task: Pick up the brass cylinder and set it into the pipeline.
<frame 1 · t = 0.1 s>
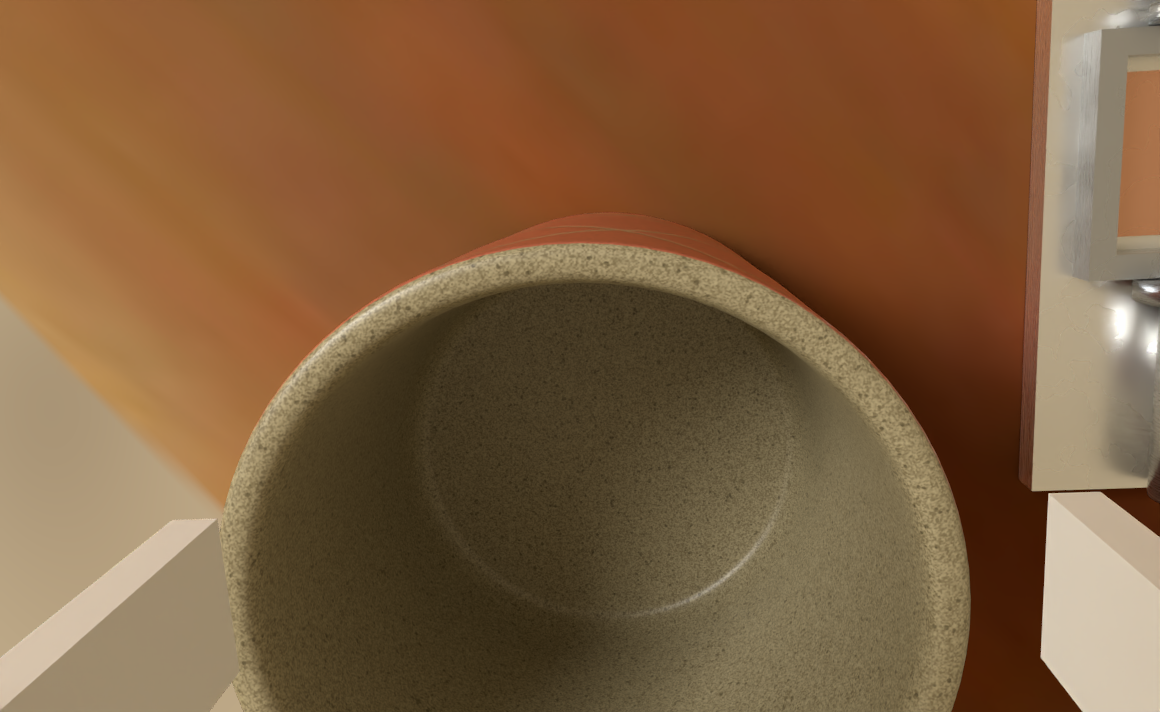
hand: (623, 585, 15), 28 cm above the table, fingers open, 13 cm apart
planter: (610, 407, 44), on the table
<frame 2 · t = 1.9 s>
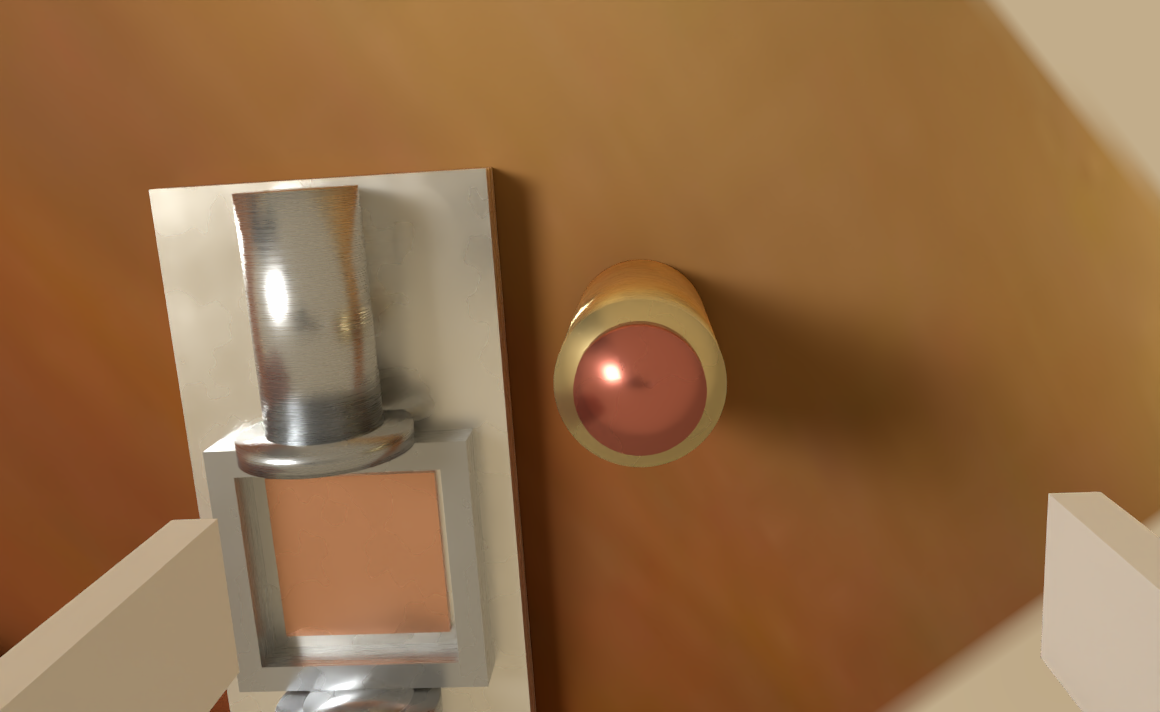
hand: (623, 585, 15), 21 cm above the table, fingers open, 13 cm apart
brass cylinder: (640, 324, 36), on the table
pipeline: (370, 538, 38), on the table
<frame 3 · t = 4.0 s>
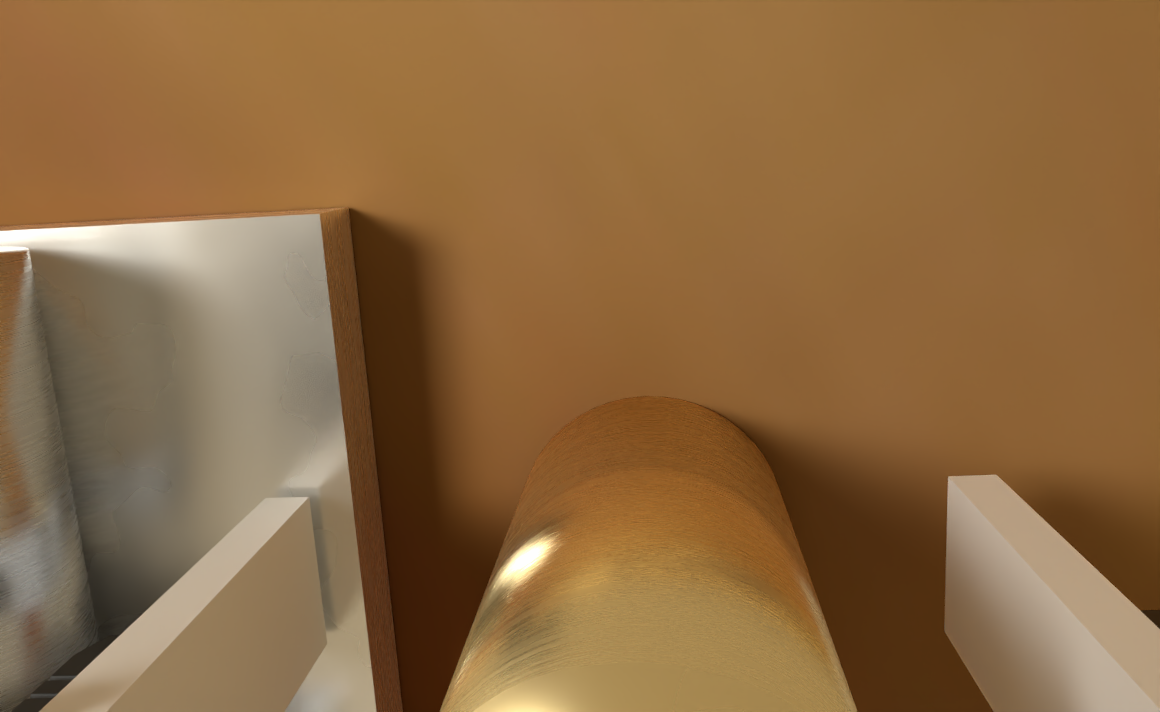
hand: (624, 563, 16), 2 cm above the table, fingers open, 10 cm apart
brass cylinder: (650, 522, 18), on the table
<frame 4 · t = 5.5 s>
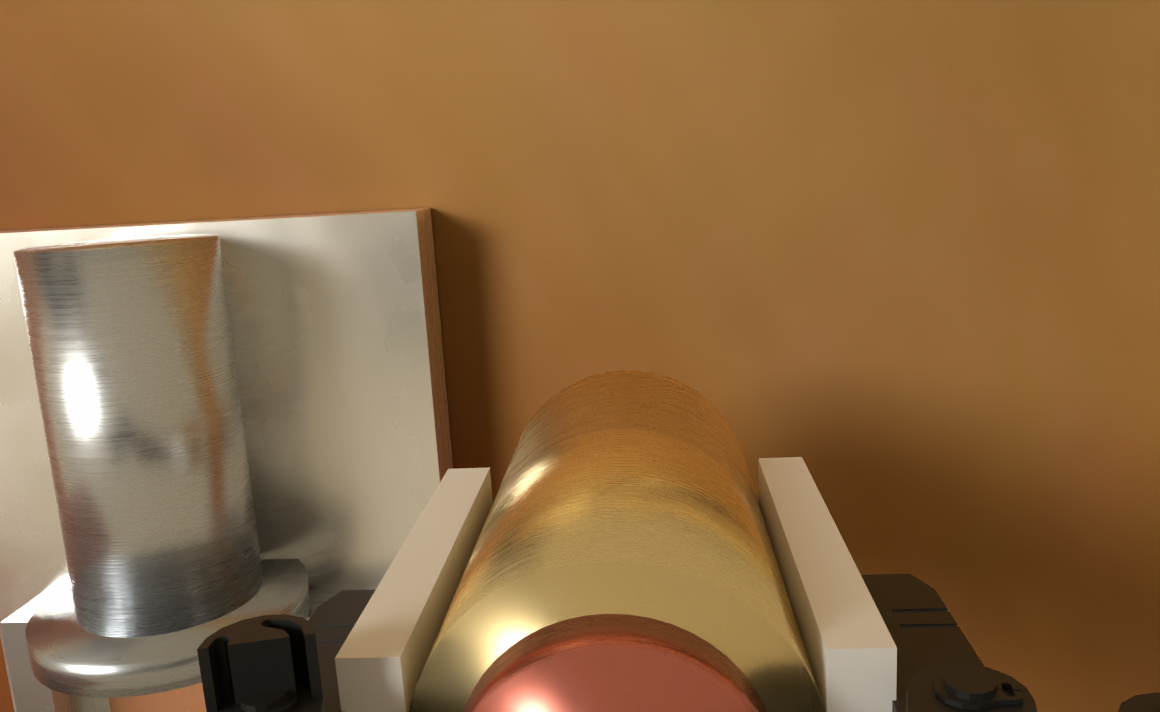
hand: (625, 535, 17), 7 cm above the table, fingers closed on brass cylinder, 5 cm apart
brass cylinder: (628, 485, 20), point 5 cm above the table, touching gripper
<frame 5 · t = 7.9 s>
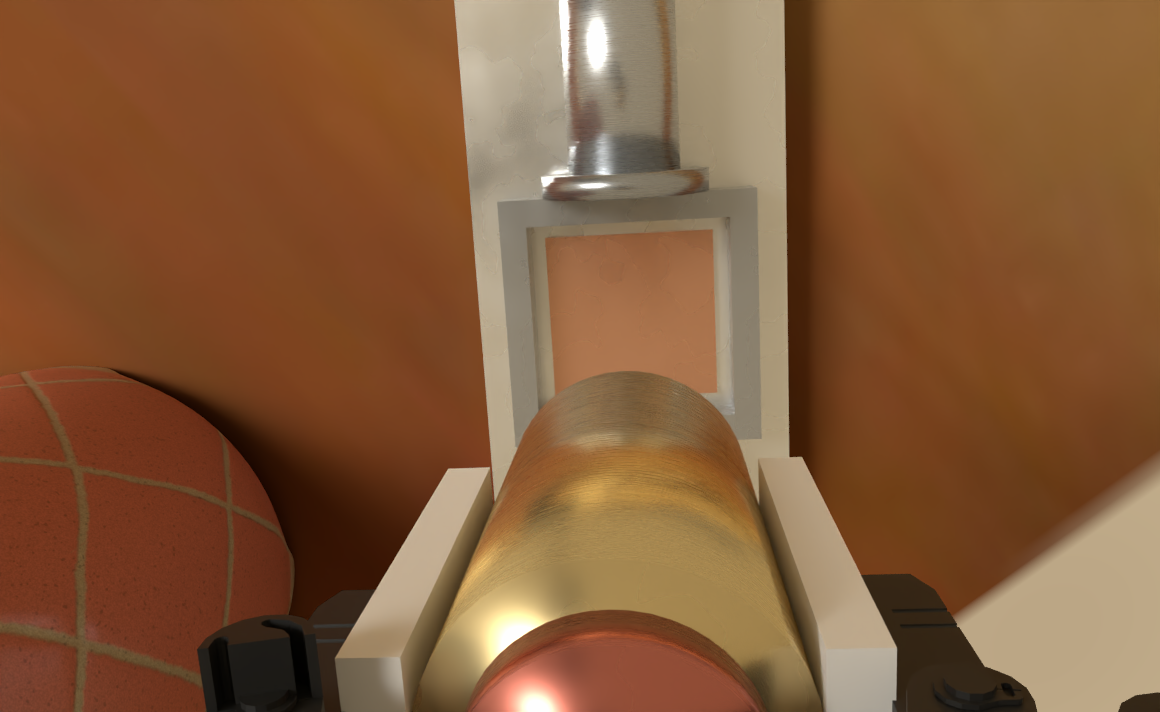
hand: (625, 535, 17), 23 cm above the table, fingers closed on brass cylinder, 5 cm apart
brass cylinder: (628, 484, 20), point 20 cm above the table, touching gripper
pipeline: (632, 308, 39), on the table
planter: (107, 551, 43), on the table
when the fingers open (4 cm above the table, at t = 10.5 s): brass cylinder stays where it is, resting on pipeline.
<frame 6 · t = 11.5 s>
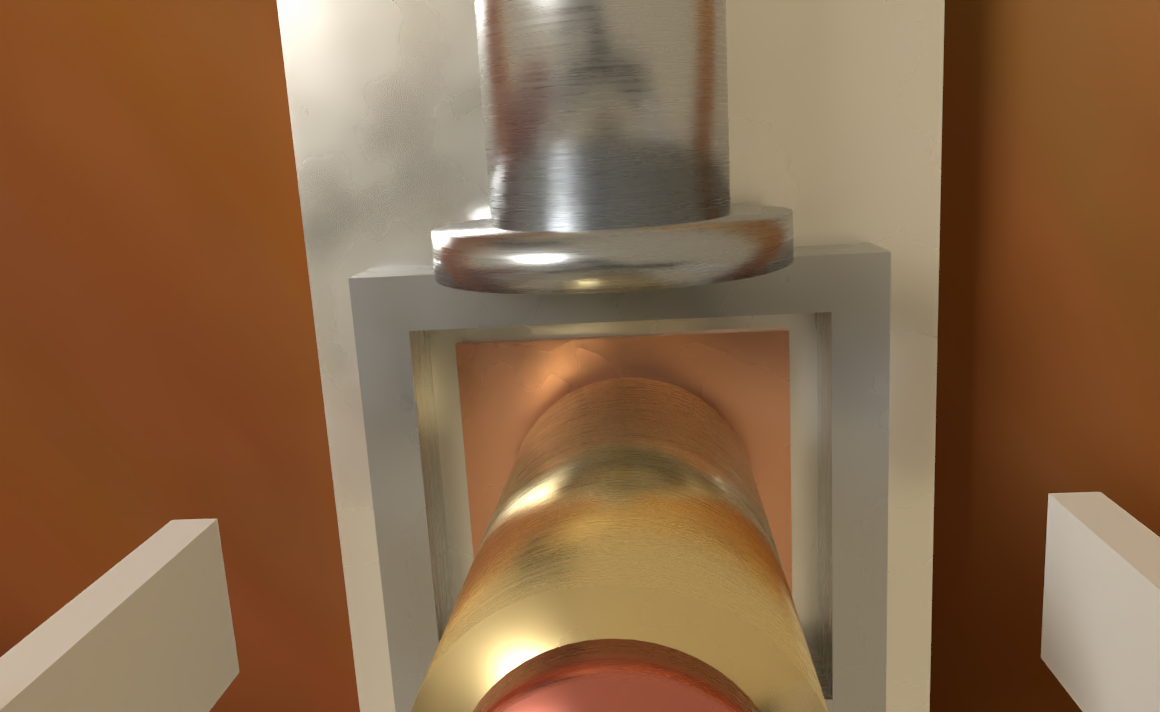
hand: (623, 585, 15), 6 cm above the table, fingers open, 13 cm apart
brass cylinder: (631, 495, 19), point 2 cm above the table, touching pipeline
pipeline: (629, 467, 21), on the table
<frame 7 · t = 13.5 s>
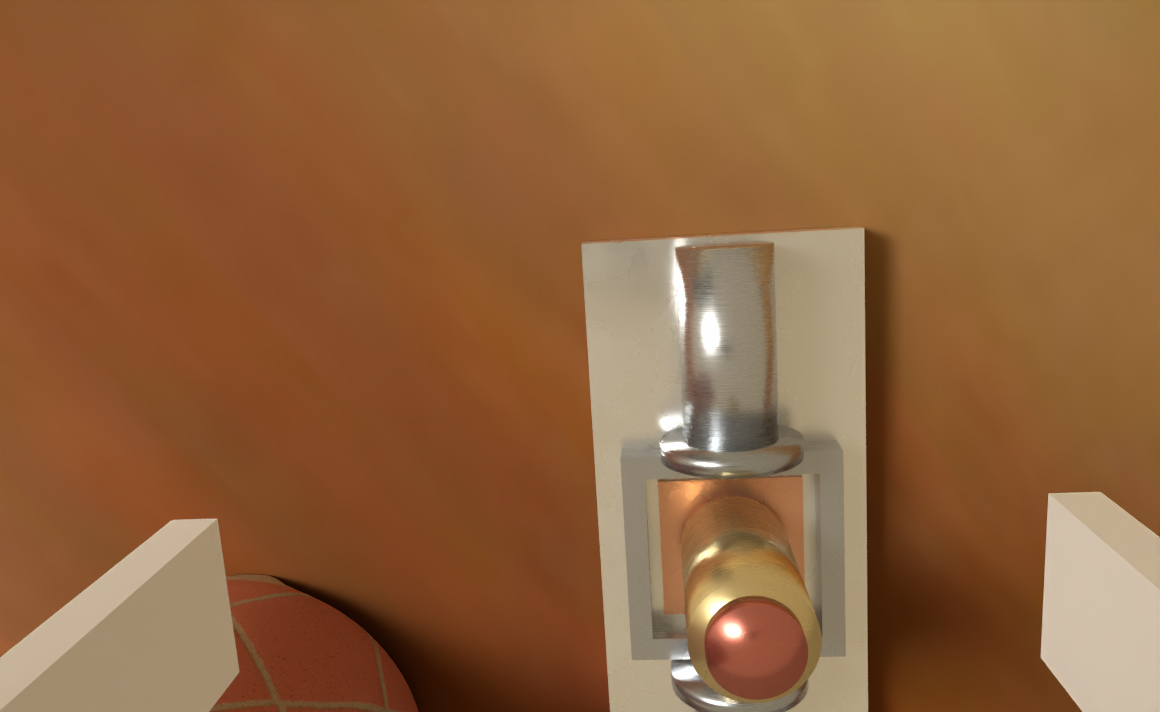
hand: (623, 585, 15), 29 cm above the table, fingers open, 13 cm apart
brass cylinder: (733, 547, 44), point 2 cm above the table, touching pipeline
pipeline: (729, 533, 45), on the table
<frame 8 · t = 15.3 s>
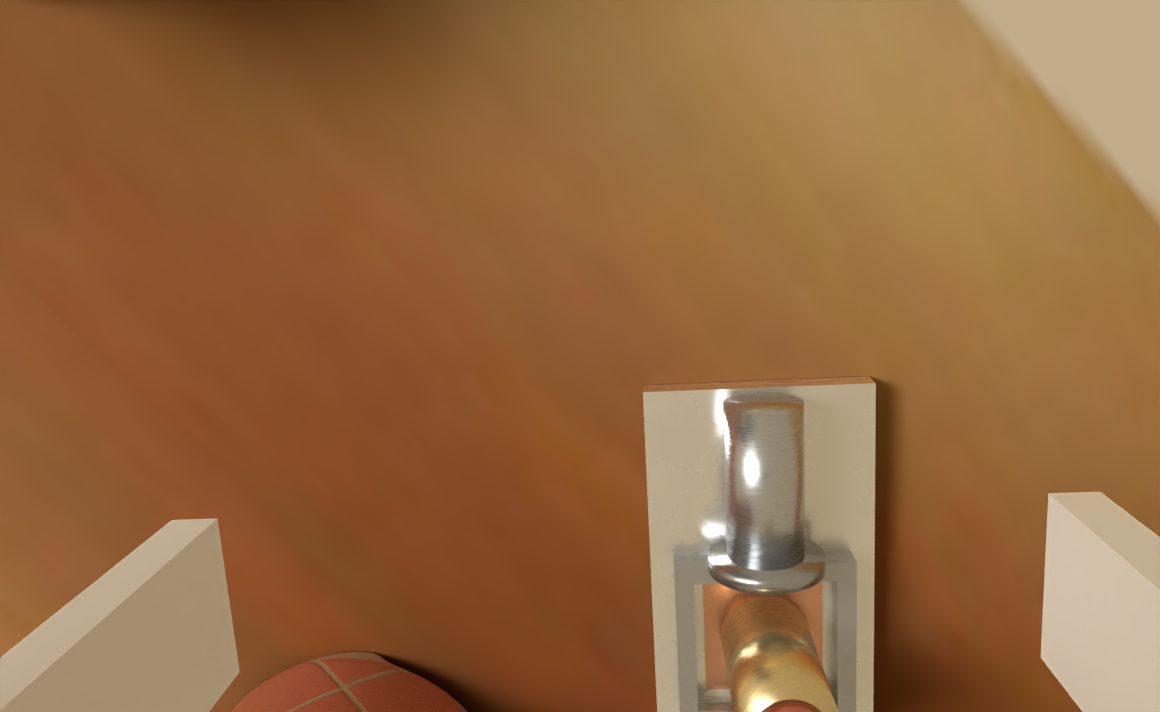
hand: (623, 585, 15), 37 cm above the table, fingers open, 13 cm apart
brass cylinder: (764, 635, 53), point 2 cm above the table, touching pipeline
pipeline: (759, 620, 55), on the table
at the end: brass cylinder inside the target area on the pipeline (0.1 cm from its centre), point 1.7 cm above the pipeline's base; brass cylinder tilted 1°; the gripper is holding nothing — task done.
